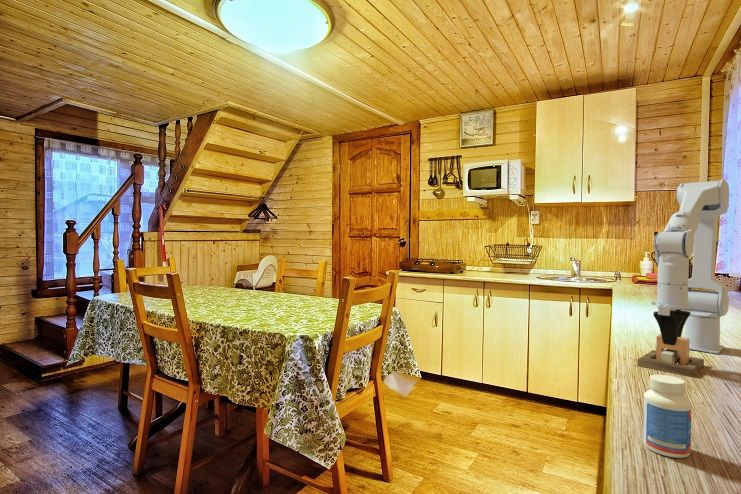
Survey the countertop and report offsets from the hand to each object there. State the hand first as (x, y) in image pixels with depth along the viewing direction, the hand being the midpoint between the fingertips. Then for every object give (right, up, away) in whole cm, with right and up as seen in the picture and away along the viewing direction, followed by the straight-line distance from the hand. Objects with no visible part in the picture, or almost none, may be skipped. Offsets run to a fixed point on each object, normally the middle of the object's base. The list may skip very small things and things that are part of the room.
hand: (671, 343), depth 95 cm
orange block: (0, -4, 0) cm, 4 cm away
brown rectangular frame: (0, -5, 0) cm, 5 cm away
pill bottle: (-28, -6, -38) cm, 47 cm away
